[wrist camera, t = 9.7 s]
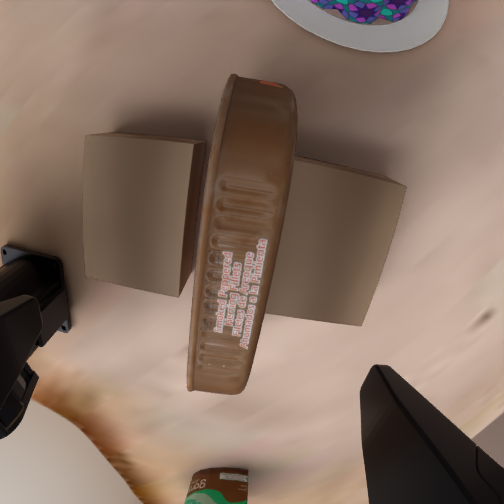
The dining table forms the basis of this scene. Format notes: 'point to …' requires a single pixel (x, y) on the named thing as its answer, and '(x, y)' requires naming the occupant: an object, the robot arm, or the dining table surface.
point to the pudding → (369, 22)
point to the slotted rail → (184, 221)
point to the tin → (240, 231)
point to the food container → (218, 486)
